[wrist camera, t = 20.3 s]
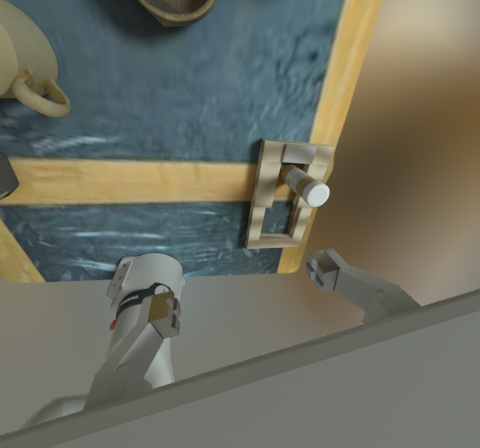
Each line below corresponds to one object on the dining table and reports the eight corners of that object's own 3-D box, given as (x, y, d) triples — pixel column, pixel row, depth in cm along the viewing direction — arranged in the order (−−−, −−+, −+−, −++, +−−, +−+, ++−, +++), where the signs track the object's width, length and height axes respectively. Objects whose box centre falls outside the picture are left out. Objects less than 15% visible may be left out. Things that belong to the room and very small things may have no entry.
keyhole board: (295, 241, 59) (299, 247, 56) (244, 243, 55) (247, 250, 52) (327, 144, 44) (335, 147, 41) (261, 138, 40) (266, 141, 38)
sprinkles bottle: (296, 181, 47) (327, 206, 36) (278, 183, 47) (305, 209, 36) (298, 162, 45) (332, 183, 34) (280, 164, 44) (309, 186, 33)
